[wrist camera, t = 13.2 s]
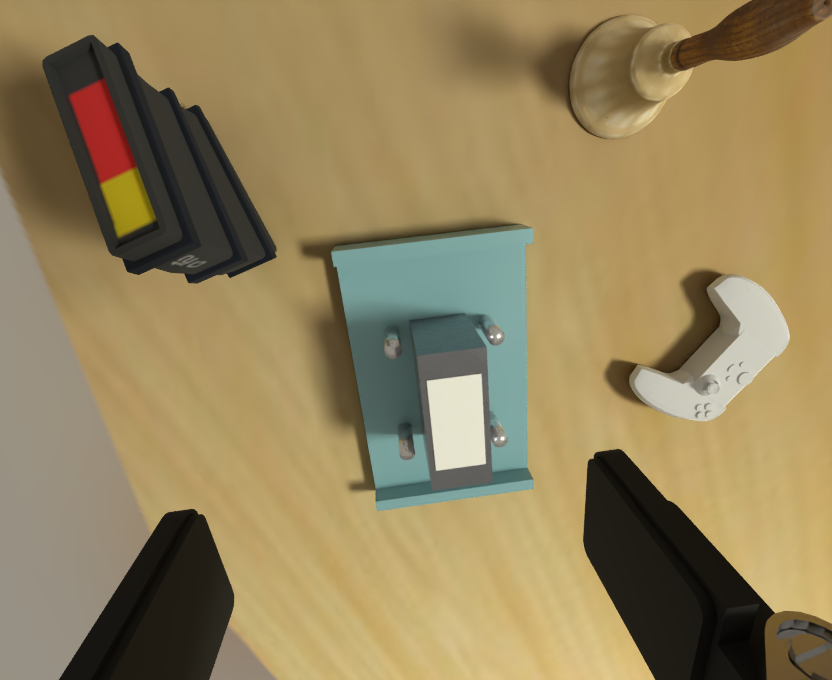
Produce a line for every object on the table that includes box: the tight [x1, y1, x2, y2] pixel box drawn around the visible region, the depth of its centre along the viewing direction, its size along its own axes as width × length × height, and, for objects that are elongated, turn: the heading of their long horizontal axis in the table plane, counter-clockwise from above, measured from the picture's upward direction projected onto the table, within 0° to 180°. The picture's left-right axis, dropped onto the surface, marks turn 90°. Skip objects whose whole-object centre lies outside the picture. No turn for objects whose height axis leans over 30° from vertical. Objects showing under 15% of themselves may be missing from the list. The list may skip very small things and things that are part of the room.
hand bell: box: [569, 0, 832, 139], centre depth 25 cm, size 8×8×16 cm
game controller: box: [629, 274, 790, 421], centre depth 40 cm, size 14×4×10 cm
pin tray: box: [331, 224, 533, 511], centre depth 38 cm, size 26×16×5 cm, turn 6°
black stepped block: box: [42, 35, 277, 283], centre depth 28 cm, size 4×13×15 cm, turn 23°
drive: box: [409, 313, 493, 491], centre depth 35 cm, size 12×5×8 cm, turn 6°
